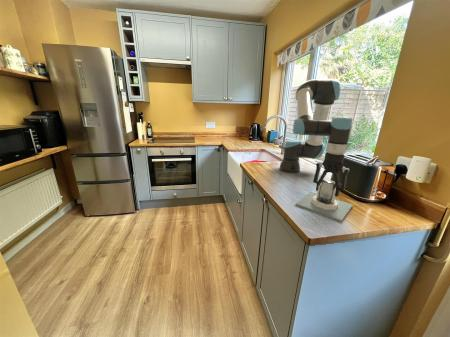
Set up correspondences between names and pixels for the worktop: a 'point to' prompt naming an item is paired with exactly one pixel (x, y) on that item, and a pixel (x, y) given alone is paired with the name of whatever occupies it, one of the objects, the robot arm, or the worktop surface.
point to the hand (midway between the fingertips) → (325, 199)
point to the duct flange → (325, 207)
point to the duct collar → (326, 191)
